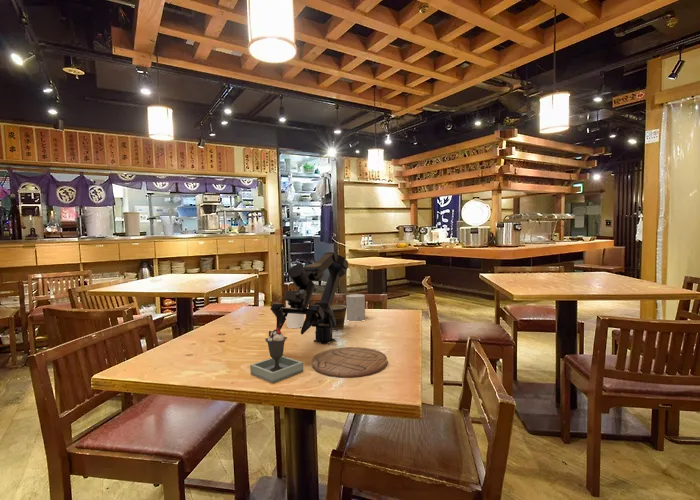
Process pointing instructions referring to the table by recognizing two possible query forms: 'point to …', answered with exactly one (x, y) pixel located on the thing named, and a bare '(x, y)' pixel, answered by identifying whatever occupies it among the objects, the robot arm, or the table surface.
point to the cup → (294, 319)
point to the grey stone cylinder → (355, 307)
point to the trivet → (349, 362)
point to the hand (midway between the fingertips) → (289, 332)
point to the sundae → (276, 347)
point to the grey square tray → (289, 369)
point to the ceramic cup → (339, 316)
